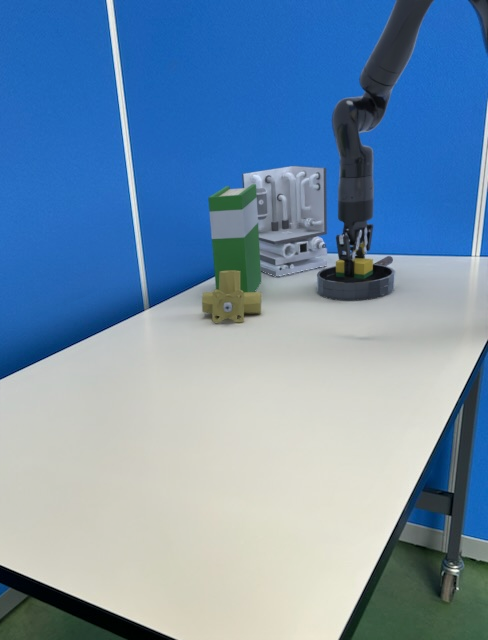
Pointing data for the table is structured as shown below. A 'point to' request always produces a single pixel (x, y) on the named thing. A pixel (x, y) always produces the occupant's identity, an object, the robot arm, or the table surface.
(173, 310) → the table surface
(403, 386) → the table surface
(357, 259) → the sponge
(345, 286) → the pan
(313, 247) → the grey pipe machine model
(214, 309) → the ball valve
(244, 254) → the hardback book
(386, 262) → the pan handle
